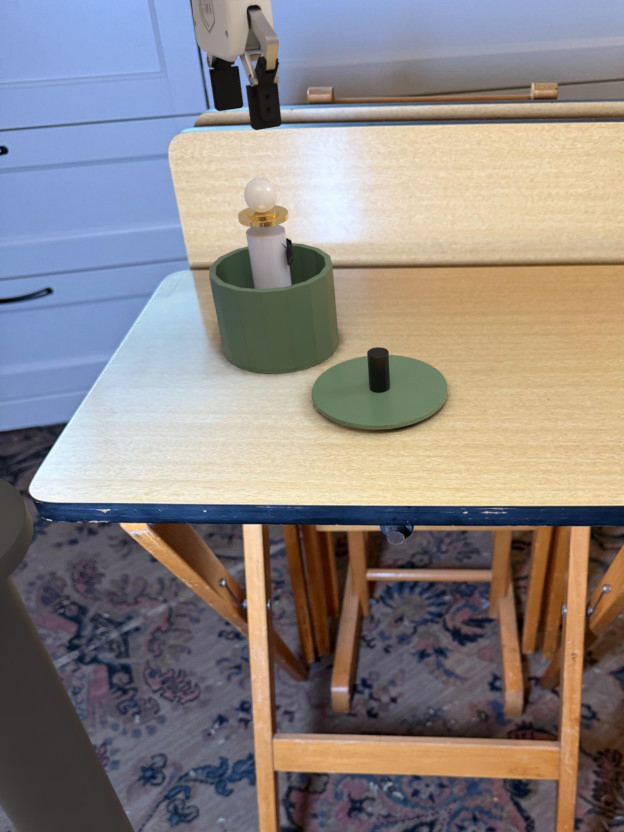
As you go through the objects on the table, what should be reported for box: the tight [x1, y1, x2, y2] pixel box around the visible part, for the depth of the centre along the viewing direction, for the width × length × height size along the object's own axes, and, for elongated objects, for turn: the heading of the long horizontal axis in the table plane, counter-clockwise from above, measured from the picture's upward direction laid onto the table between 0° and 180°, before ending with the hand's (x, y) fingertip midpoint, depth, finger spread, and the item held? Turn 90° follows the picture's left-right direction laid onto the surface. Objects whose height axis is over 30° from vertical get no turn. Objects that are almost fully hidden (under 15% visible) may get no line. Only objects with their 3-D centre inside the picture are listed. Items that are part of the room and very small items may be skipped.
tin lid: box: [311, 346, 449, 431], centre depth 90 cm, size 16×16×6 cm
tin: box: [208, 242, 340, 375], centre depth 99 cm, size 15×15×10 cm
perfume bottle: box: [237, 177, 294, 289], centre depth 95 cm, size 6×6×20 cm
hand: (247, 118), depth 84 cm, fingers open, 9 cm apart
